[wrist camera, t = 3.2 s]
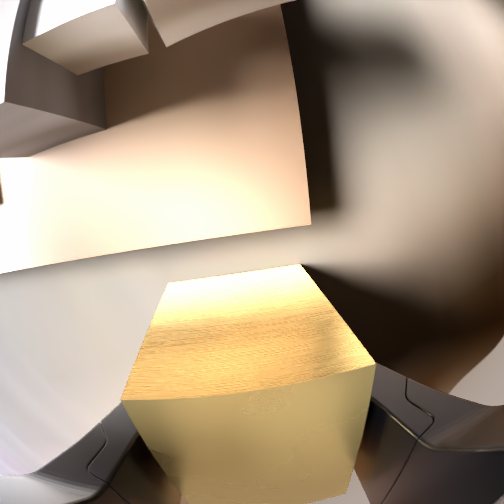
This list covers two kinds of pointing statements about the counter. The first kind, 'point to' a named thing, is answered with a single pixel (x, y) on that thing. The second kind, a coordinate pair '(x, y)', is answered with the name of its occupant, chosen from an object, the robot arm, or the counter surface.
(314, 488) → the block
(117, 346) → the counter surface
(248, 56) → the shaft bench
